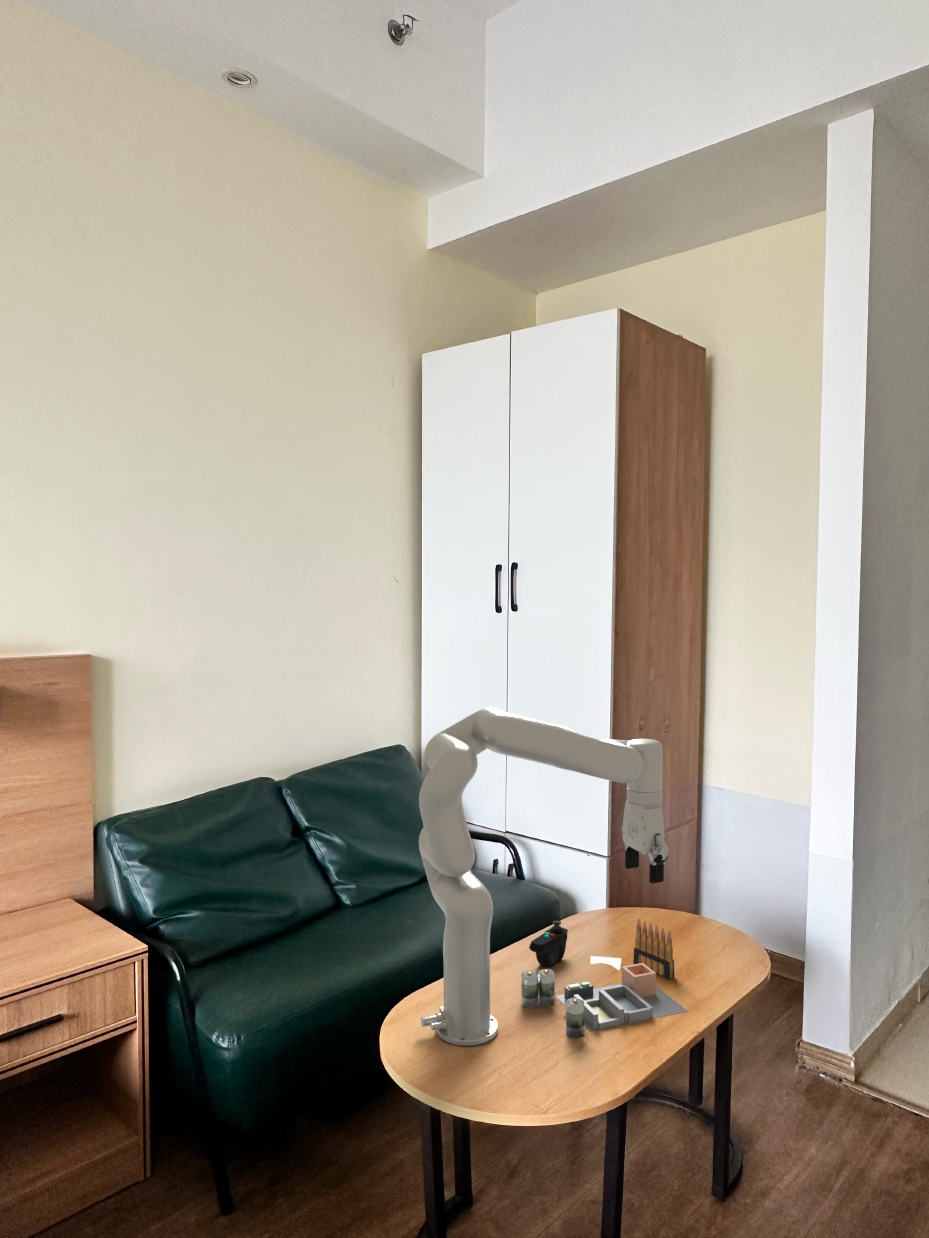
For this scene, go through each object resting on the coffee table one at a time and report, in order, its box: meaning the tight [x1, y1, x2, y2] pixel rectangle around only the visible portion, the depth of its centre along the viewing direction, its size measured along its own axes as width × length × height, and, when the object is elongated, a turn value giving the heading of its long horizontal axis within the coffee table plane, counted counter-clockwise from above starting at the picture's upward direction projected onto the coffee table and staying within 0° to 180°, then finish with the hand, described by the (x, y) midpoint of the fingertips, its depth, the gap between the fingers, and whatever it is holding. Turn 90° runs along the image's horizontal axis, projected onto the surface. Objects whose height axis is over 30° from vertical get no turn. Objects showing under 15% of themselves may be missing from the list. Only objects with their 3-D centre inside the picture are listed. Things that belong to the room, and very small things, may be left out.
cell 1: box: [520, 970, 539, 1009], centre depth 192 cm, size 4×4×7 cm
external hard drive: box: [589, 955, 622, 971], centre depth 207 cm, size 2×8×12 cm
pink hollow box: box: [621, 963, 657, 997], centre depth 196 cm, size 5×5×5 cm
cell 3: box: [565, 998, 585, 1040], centre depth 180 cm, size 4×4×7 cm
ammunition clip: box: [632, 918, 675, 981], centre depth 205 cm, size 11×2×12 cm, turn 39°
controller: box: [528, 920, 569, 969], centre depth 210 cm, size 4×12×10 cm, turn 142°
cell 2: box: [537, 968, 556, 1007], centre depth 193 cm, size 4×4×7 cm
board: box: [555, 981, 689, 1032], centre depth 190 cm, size 23×16×4 cm
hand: (644, 874), depth 192 cm, fingers open, 9 cm apart
